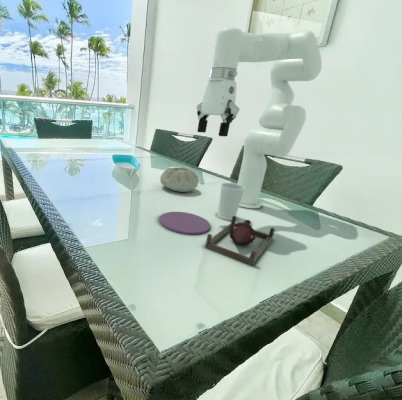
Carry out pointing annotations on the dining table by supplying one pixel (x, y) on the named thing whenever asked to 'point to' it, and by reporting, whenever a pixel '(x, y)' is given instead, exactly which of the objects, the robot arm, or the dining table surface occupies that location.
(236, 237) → the dark red rounded piece
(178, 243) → the dining table surface
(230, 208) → the cup
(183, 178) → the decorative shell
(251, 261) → the frame
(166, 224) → the lid
